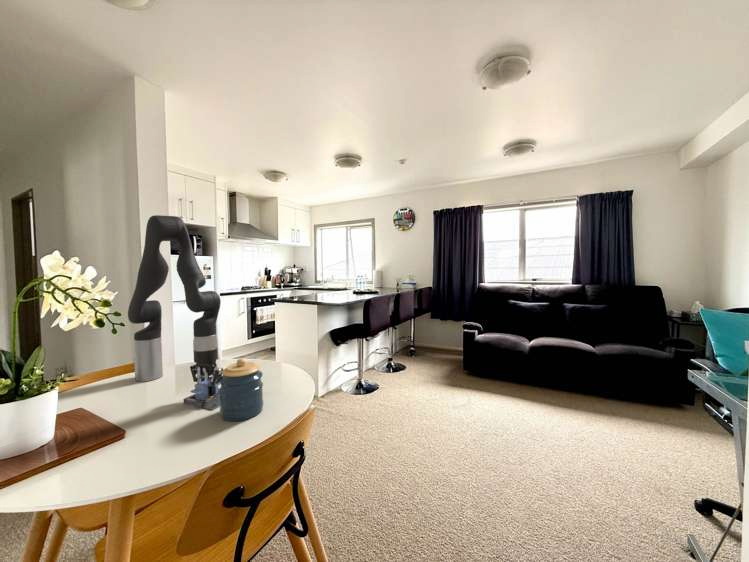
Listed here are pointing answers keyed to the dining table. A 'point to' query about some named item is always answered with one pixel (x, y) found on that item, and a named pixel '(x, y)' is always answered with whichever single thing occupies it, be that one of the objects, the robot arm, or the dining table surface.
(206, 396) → the block
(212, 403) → the chassis plate
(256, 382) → the canister
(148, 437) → the dining table surface
